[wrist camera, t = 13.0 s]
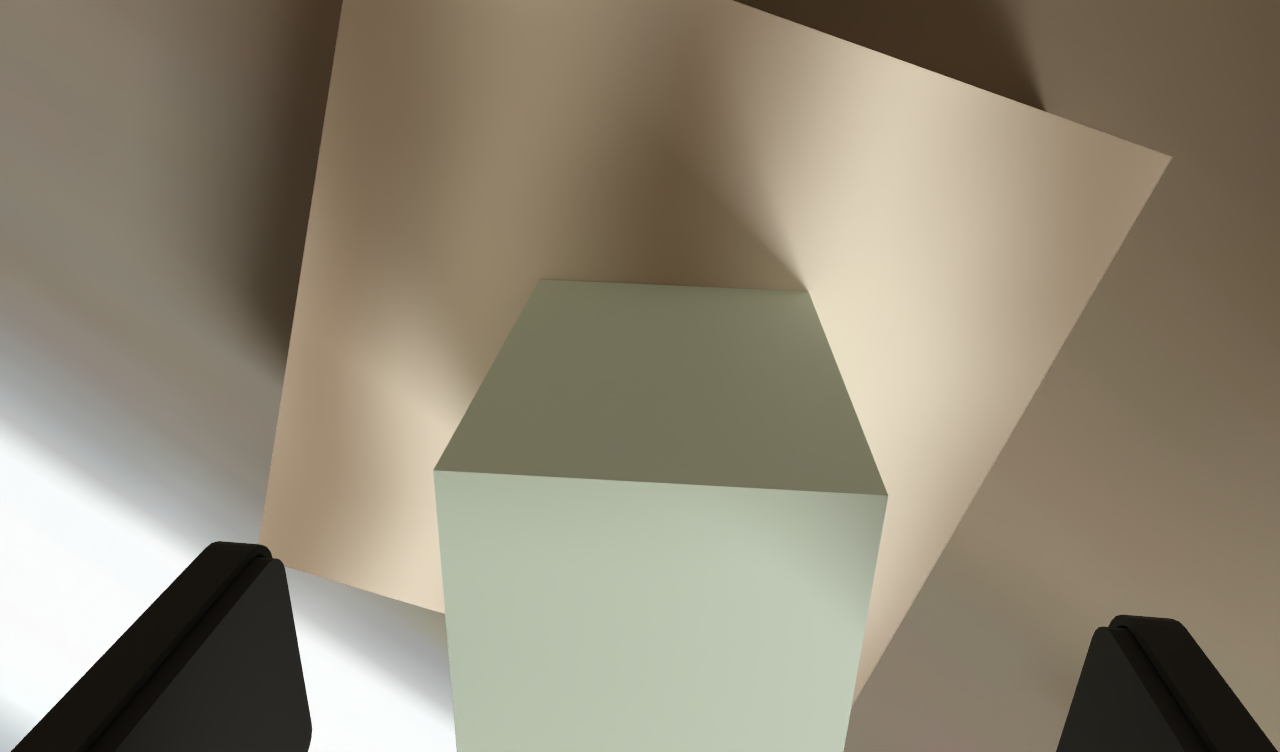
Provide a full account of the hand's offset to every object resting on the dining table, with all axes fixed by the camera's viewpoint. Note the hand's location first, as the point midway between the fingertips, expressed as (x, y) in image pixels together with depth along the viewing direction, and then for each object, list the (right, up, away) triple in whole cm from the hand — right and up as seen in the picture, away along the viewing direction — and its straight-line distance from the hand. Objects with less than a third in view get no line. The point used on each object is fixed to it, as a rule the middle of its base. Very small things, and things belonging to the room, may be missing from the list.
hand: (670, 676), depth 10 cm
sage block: (0, +3, +7) cm, 7 cm away
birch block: (0, +6, +12) cm, 13 cm away
